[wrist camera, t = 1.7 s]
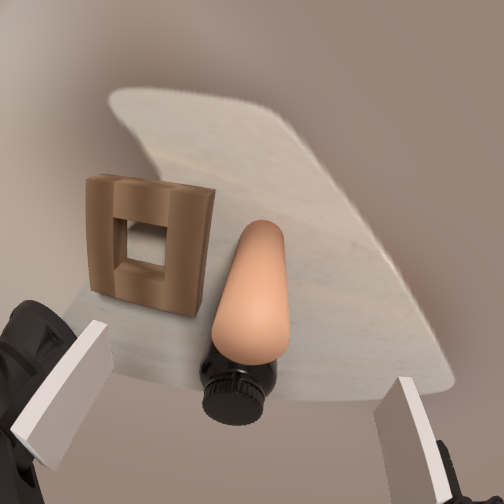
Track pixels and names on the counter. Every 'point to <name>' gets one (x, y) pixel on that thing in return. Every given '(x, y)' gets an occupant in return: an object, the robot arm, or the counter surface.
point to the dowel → (255, 299)
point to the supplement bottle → (234, 387)
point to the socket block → (157, 213)
